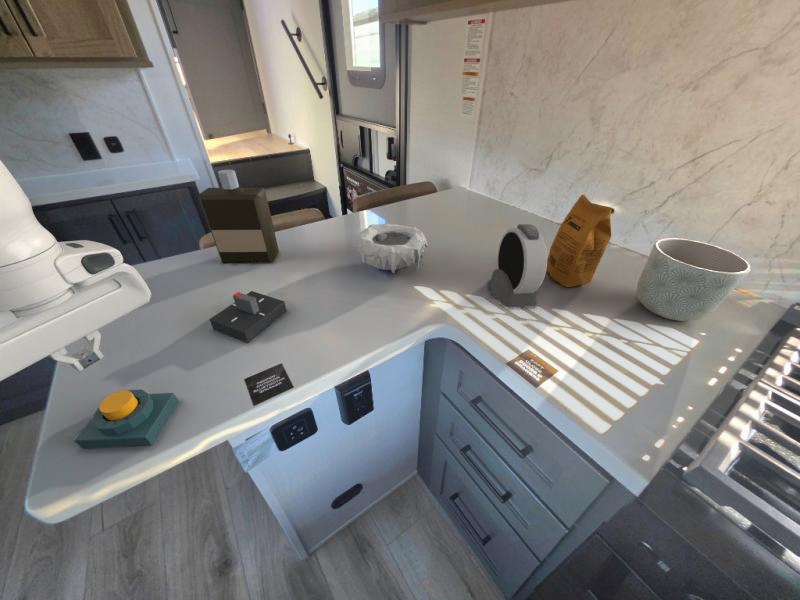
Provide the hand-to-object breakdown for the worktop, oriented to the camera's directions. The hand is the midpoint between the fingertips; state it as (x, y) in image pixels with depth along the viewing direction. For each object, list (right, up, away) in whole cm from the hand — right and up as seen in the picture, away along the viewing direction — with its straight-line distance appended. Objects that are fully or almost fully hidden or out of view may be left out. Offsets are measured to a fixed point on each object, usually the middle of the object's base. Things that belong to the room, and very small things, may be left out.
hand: (89, 363), depth 43 cm
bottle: (-3, +21, +53) cm, 57 cm away
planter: (+108, +6, +36) cm, 114 cm away
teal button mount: (0, -11, +8) cm, 14 cm away
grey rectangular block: (+8, +6, +27) cm, 29 cm away
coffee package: (+90, +15, +47) cm, 102 cm away
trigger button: (0, -8, +6) cm, 10 cm away
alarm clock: (+72, +10, +40) cm, 83 cm away
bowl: (+40, +19, +52) cm, 68 cm away
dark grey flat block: (+8, +4, +29) cm, 30 cm away
